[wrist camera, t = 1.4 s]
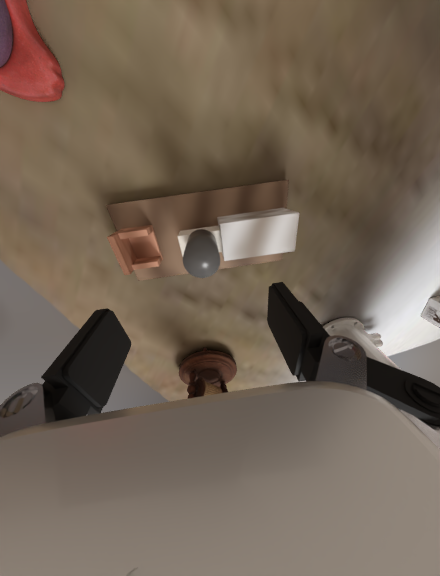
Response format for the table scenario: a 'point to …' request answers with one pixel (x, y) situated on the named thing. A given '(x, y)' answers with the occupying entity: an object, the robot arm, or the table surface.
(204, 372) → the wooden spool holder
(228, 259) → the wooden board
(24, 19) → the stacking bear
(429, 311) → the coffee box
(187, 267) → the white block with knob
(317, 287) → the table surface
